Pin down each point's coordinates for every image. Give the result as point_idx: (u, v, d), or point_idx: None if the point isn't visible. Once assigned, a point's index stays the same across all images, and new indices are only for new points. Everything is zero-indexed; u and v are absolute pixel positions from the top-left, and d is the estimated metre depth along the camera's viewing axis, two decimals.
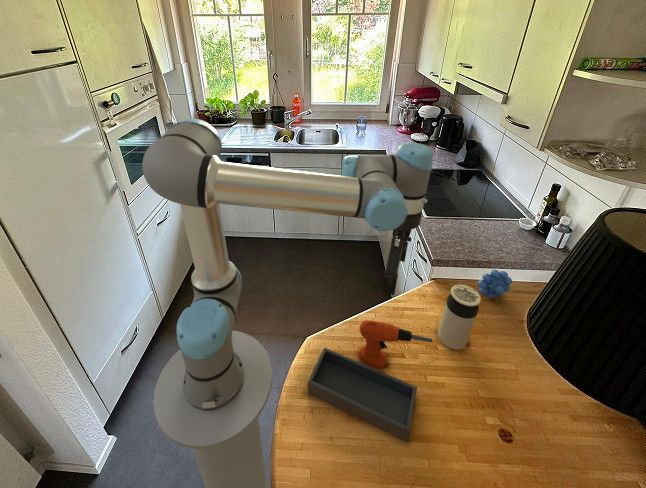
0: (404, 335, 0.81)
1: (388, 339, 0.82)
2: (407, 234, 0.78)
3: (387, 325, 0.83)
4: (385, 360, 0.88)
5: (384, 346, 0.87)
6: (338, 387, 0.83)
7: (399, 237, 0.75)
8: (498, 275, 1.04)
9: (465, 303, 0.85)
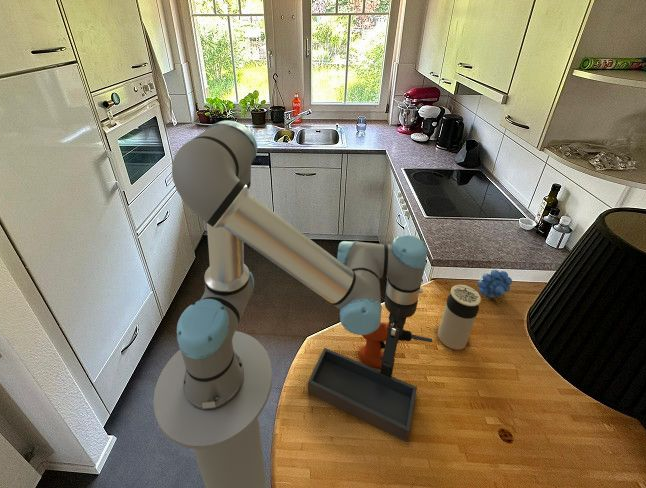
0: (404, 335, 0.81)
1: None
2: (403, 320, 0.78)
3: (387, 325, 0.83)
4: None
5: (384, 346, 0.87)
6: (338, 387, 0.83)
7: (395, 326, 0.75)
8: (498, 275, 1.04)
9: (465, 303, 0.85)
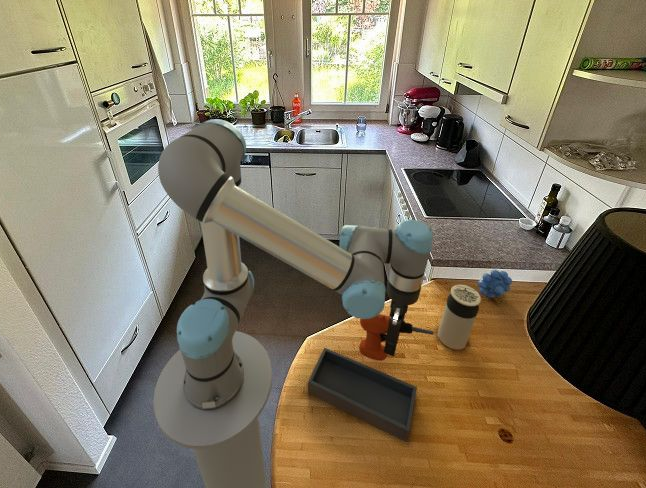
0: (405, 327, 0.80)
1: None
2: (405, 308, 0.76)
3: (388, 317, 0.82)
4: (385, 353, 0.87)
5: (384, 339, 0.86)
6: (338, 387, 0.83)
7: (396, 317, 0.74)
8: (498, 275, 1.04)
9: (465, 303, 0.85)
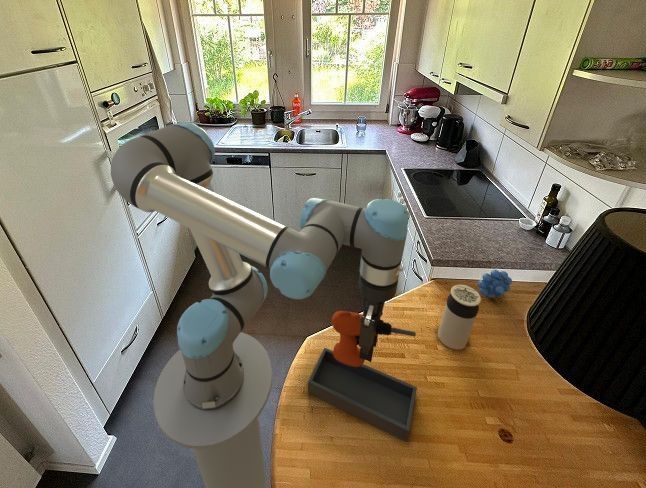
0: (382, 328, 0.69)
1: None
2: (380, 305, 0.64)
3: None
4: None
5: None
6: (338, 387, 0.83)
7: (369, 316, 0.62)
8: (498, 275, 1.04)
9: (465, 303, 0.85)
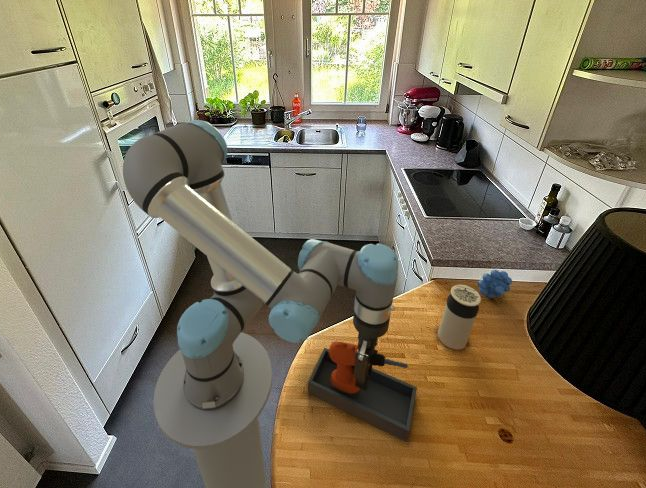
0: (376, 359, 0.73)
1: None
2: (374, 340, 0.68)
3: None
4: None
5: None
6: None
7: (363, 352, 0.66)
8: (498, 275, 1.04)
9: (465, 303, 0.85)
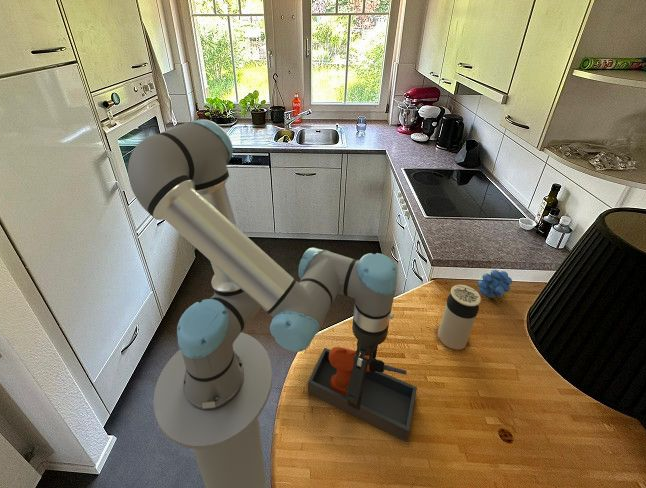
0: (376, 366, 0.74)
1: None
2: (373, 347, 0.69)
3: None
4: None
5: None
6: None
7: (362, 355, 0.67)
8: (498, 275, 1.04)
9: (465, 303, 0.85)
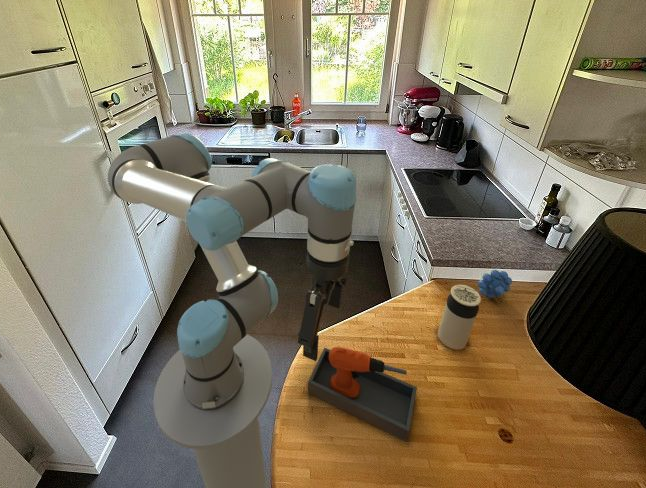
0: (376, 366, 0.74)
1: (358, 369, 0.75)
2: (331, 284, 0.58)
3: (358, 354, 0.76)
4: (357, 390, 0.81)
5: (356, 375, 0.79)
6: None
7: (317, 291, 0.55)
8: (498, 275, 1.04)
9: (465, 303, 0.85)
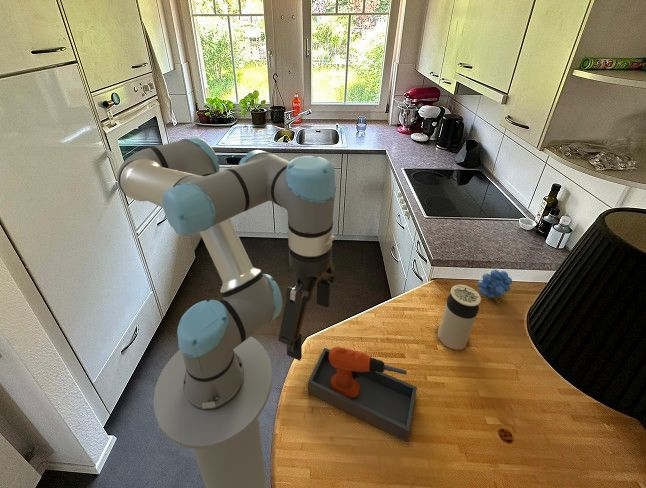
0: (376, 366, 0.74)
1: (358, 369, 0.75)
2: (313, 280, 0.56)
3: (358, 354, 0.76)
4: (357, 390, 0.81)
5: (356, 375, 0.79)
6: None
7: (297, 287, 0.54)
8: (498, 275, 1.04)
9: (465, 303, 0.85)
